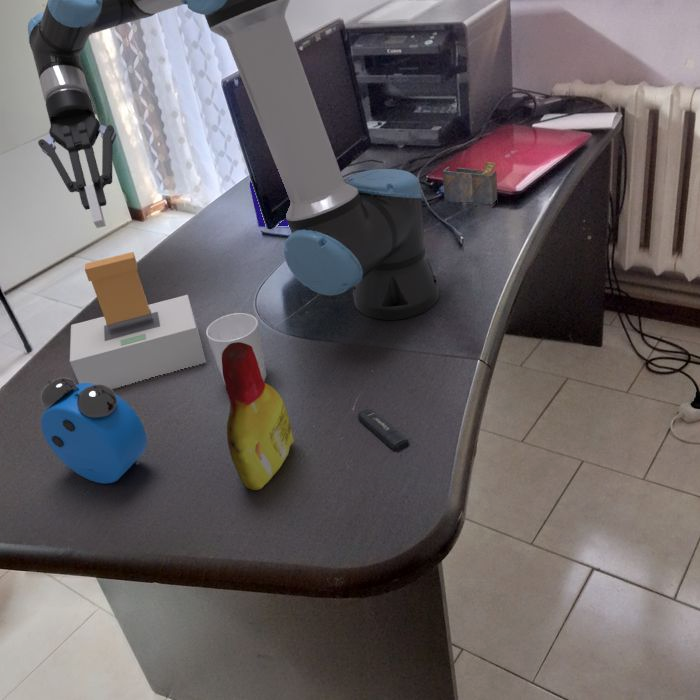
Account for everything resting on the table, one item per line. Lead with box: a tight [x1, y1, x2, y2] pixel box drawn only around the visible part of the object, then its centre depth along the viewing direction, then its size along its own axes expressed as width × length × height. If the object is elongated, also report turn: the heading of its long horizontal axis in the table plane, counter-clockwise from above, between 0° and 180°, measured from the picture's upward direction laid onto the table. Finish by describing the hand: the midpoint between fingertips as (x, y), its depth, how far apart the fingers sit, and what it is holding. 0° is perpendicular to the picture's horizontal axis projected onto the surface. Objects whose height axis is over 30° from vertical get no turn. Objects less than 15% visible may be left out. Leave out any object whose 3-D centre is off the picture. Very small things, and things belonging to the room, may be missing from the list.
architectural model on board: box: [442, 160, 498, 204], centre depth 158 cm, size 11×3×10 cm, turn 57°
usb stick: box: [357, 408, 409, 452], centre depth 101 cm, size 10×3×2 cm, turn 33°
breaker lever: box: [84, 251, 153, 331], centre depth 118 cm, size 3×8×11 cm, turn 107°
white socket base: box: [69, 294, 207, 390], centre depth 123 cm, size 12×20×7 cm, turn 107°
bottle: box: [222, 342, 295, 491], centre depth 93 cm, size 12×6×20 cm, turn 161°
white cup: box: [205, 312, 267, 387], centre depth 113 cm, size 8×8×10 cm
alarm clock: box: [40, 377, 148, 484], centre depth 98 cm, size 13×6×15 cm, turn 65°
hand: (99, 223), depth 123 cm, fingers closed
